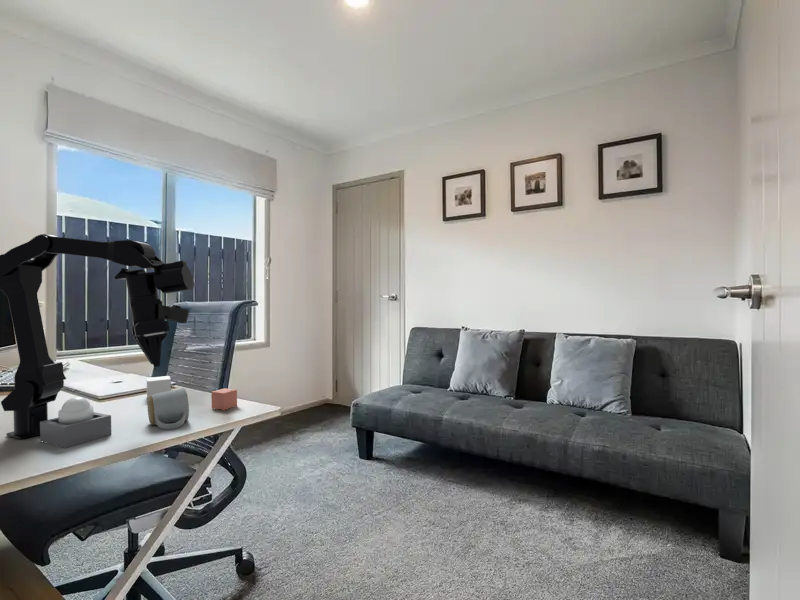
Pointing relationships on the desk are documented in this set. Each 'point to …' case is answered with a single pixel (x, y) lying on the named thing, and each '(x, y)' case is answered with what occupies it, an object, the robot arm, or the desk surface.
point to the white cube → (158, 385)
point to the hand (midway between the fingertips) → (155, 365)
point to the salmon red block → (224, 398)
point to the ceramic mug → (168, 408)
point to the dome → (75, 411)
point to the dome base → (75, 430)
